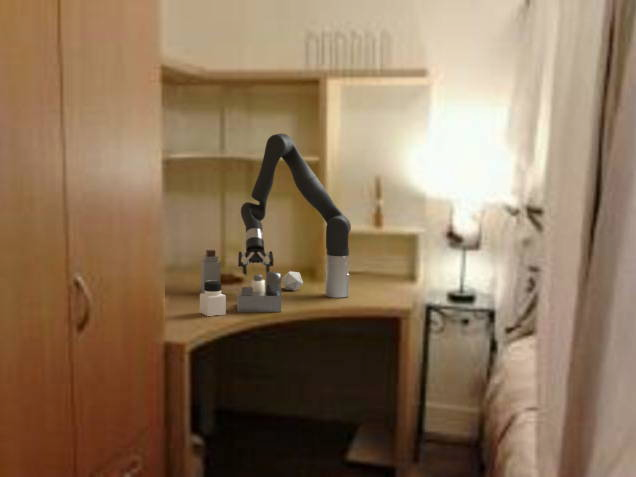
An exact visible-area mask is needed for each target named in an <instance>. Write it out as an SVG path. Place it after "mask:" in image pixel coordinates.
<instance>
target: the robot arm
mask: <svg viewBox="0 0 636 477" xmlns="http://www.w3.org/2000/svg"><path fill="white" fill-rule="evenodd" d="M295 144H296V143H295V142H294V141H293V139H292V138H291V136H290V135H288V134H286V133H276V134H272V135H271V136H269V138H268V139H267V141H266V144H265V148H264V154H263V158H262V163H261V166H260V169H259V173H258V176H257V178H256V181H255V183H254V186H253V189H252V191H251V198H252V199H253V200H254V201H257V202H258V203H253V202H249V201H247V202H244V203H243V204H242V206H241V208H240V215H241V219H242V221H243V225H244V226H245V241H244V242H245V252H242V251H241V250H240V251H238V257H237V260H238V262H237V266H238V267H239V268H240V267H242V273H243V275H244V276H247V274H248V273H247V272H248V271H247V266H249V265H250V264H255V263H256V264H262V265H263V266H265V274H266V273H267V272H271V271H270V267H274V262H275V261H274V255H273V251H271V250H270V251H269V252H265V239H264V234H263V232H264V231H263V223H262V222H261V221H263V220H264V219H265V217H266V211H267V210H266V209H267V202H268V197H269V195H270V193H271V190H272V188H273V184H274V179H275V178H274V176H275V171H276V168H277V165H278V163H279V161H280V159H282V160H283V161H284V162H285V164H286V165H287V167H288V168H289V170H290V172H291V175H292V178H293V182H294V185H295V186H296V188H297V190H298V191H299V192H300V193H301V195H302V196H303V197H304V199H305V200H306V201H307V202H308V203H309V204H310V205H311V206H312V207H313V208H314V209H316V211H318V213H319V214H320V215H321V217H322V218H323V219H324V221H325V223H326V226H325V227H326V228H325V248H326V261H325V262H326V265H325V266H326V268H325V296H326V297H329V298H334V299H335V298H337V299H339V298H349V297H350V295H349V294H350V274H349V265H350V264H349V261H350V260H349V258H350V257H349V256H350V248H349V234H350V232H351V228H352V226H351V222H350V220H349V219H348V217H347V216H346V215H345V214H344V213H343V212H342V211H341V210H340V209H339V208H338V206H337V205H336V204H335V202H334V201H333V199H332V198H331V196H330V194H329V193H328V191H327V190H326V188H325V187H324V185H323V184H322V182H321V181H320V179H319V178H318V177H317V175H316V174H315V173H314V171H313V170H312V168H311V167H310V166H309V164H308V163H307V161H306V160H305V159H304V158H303V156H302V155H301V153H300V151H299V150H298V147H297V146H296V145H295ZM244 257H245V259H244ZM266 257H267V258H268V260H269V261H268V260H267V258H266ZM242 259H244V261H242Z"/></svg>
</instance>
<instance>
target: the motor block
mask: <svg viewBox="0 0 636 477" xmlns="http://www.w3.org/2000/svg"><path fill="white" fill-rule="evenodd" d="M236 294H237V295H236V296H237V297H236V299H237V300H236V303H237V304H236V310H237V311H236V312H237V313H282V298H283V297H282V272H279V271H270V272H267V273H266V272H265V293H253V288H252V287H251V286H249V287H248V286H247V287H246V286H243V287H241V292H237V293H236Z"/></svg>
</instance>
